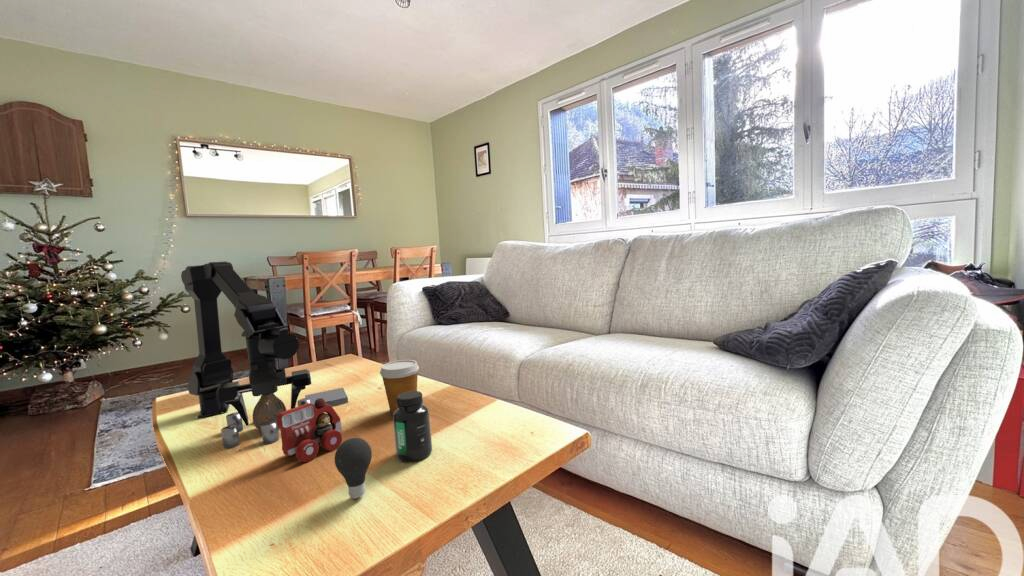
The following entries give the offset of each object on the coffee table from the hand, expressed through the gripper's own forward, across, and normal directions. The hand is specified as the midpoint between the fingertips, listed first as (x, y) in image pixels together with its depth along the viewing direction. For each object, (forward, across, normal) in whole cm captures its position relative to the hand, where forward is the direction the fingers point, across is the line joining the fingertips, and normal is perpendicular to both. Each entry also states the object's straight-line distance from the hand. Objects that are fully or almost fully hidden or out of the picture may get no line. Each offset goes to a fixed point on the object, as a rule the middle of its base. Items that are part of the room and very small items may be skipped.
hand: (270, 420), depth 97 cm
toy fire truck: (+2, +8, -19) cm, 21 cm away
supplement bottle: (+2, +25, -33) cm, 42 cm away
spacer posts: (+2, 0, 0) cm, 2 cm away
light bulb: (+2, +13, -42) cm, 44 cm away
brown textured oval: (+2, 0, 0) cm, 2 cm away
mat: (+2, +13, +12) cm, 18 cm away
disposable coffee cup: (+2, +29, -9) cm, 30 cm away
